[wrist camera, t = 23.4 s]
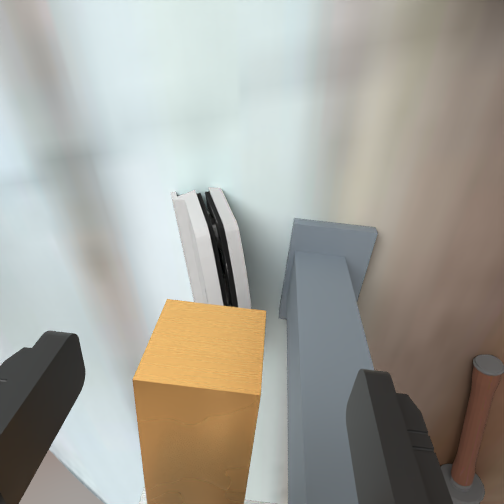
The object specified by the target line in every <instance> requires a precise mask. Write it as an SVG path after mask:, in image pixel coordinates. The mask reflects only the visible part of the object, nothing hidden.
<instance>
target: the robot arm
mask: <svg viewBox="0 0 504 504" xmlns="http://www.w3.org/2000/svg"><path fill="white" fill-rule="evenodd" d="M84 380H85V366H84V361H83V357H82V352H81V347H80V342H79V338H78V336H77V335H76V334H73V333H65V332H56V331H47V332H45V333H44V334H43V335H42V336H41V337H40V339H39V340H38V341H37V342H36V344H35V345H34V346H33V348H25V347H24V348H22V349H21V350H20V351H18V352H17V353H15V354H14V355H12V356H11V357H10V358H8V359H7V360H5V361H4V362H3V364H2V365H1V366H0V504H19V502H20V500H21V498H22V496H23V495H24V493H25V491H26V489H27V487H28V486H29V484H30V482H31V480H32V478H33V477H34V475H35V473H36V471H37V469H38V468H39V466H40V464H41V462H42V460H43V458H44V457H45V455H46V453H47V451H48V450H49V448H50V446H51V444H52V442H53V441H54V439H55V437H56V435H57V433H58V432H59V430H60V428H61V426H62V424H63V423H64V421H65V419H66V417H67V415H68V414H69V412H70V410H71V408H72V406H73V405H74V403H75V401H76V399H77V397H78V396H79V394H80V392H81V390H82V387H83V384H84ZM346 426H347V433H348V439H349V446H350V452H351V459H352V465H353V472H354V478H355V484H356V491H357V497H358V504H453V501H452V499H451V496H450V493H449V490H448V487H447V484H446V482H445V479H444V476H443V473H442V470H441V467H440V465H439V462H438V459H437V456H436V453H434V448H433V445H432V442H431V439H430V436H428V431H427V428H426V425H425V422H424V419H423V417H422V414H421V412H420V410H419V409H418V408H417V406H416V405H415V404H414V403H413V401H412V400H411V399H410V397H409V396H408V395H407V394H399V393H396V392H395V388H394V385H393V382H392V378H391V376H390V374H389V373H388V372H383V371H375V370H367V369H360V370H359V371H358V374H357V377H356V379H355V382H354V385H353V388H352V391H351V394H350V397H349V400H348V403H347V408H346Z"/></svg>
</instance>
